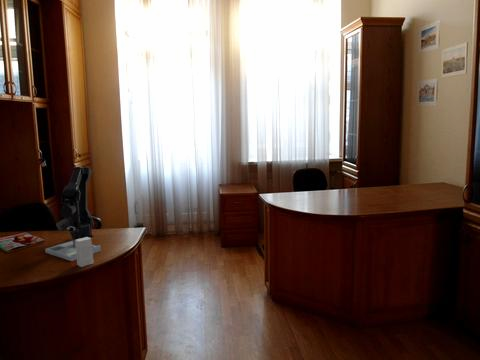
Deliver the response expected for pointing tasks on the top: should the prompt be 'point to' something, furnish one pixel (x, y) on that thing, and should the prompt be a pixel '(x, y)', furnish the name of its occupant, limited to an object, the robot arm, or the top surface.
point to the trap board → (67, 250)
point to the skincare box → (84, 251)
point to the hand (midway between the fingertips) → (75, 242)
